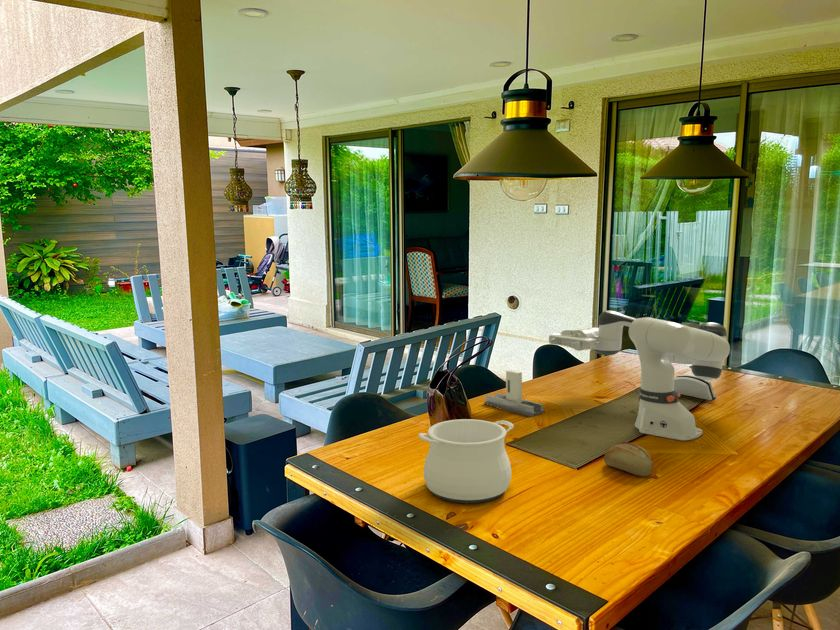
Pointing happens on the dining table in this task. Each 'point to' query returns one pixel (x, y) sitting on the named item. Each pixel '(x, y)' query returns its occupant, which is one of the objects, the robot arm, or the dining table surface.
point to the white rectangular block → (514, 386)
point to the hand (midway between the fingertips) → (561, 343)
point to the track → (515, 405)
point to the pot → (467, 460)
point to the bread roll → (629, 459)
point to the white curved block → (694, 387)
